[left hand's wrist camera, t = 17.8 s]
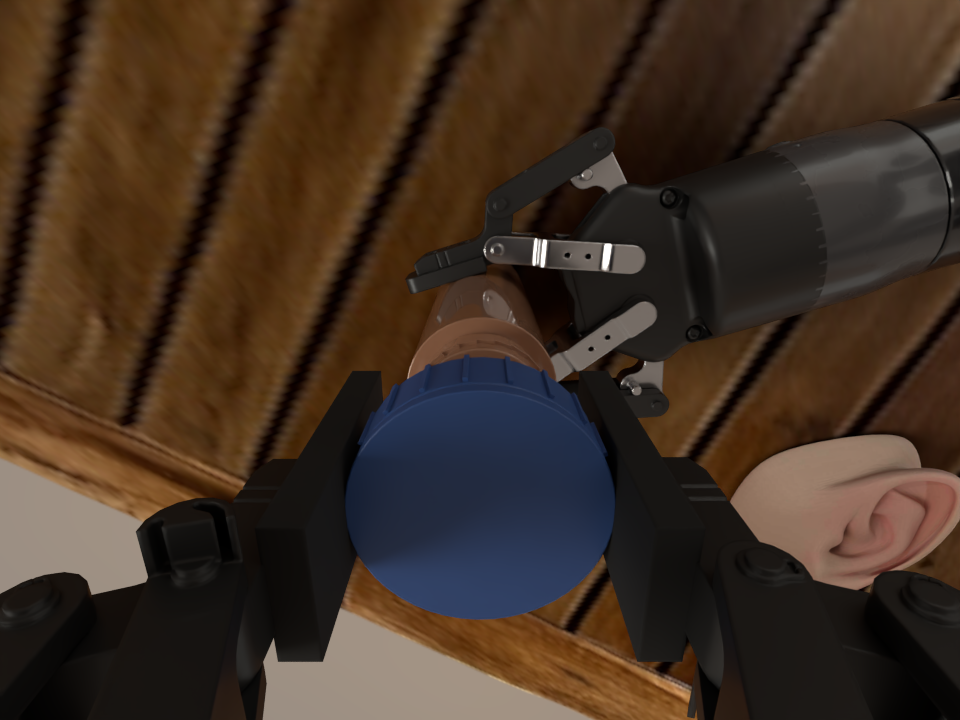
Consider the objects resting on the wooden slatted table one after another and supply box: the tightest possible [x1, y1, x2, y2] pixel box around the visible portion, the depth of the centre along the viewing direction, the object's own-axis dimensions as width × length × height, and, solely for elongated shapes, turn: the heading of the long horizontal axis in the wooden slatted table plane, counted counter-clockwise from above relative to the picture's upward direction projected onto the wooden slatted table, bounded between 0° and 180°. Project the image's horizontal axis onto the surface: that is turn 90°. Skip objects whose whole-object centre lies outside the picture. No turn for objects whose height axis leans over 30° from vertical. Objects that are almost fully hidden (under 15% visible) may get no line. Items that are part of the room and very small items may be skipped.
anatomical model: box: [730, 435, 960, 590], centre depth 34 cm, size 13×4×12 cm
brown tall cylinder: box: [407, 263, 557, 382], centre depth 23 cm, size 5×5×16 cm
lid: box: [345, 354, 616, 619], centre depth 11 cm, size 6×6×2 cm
